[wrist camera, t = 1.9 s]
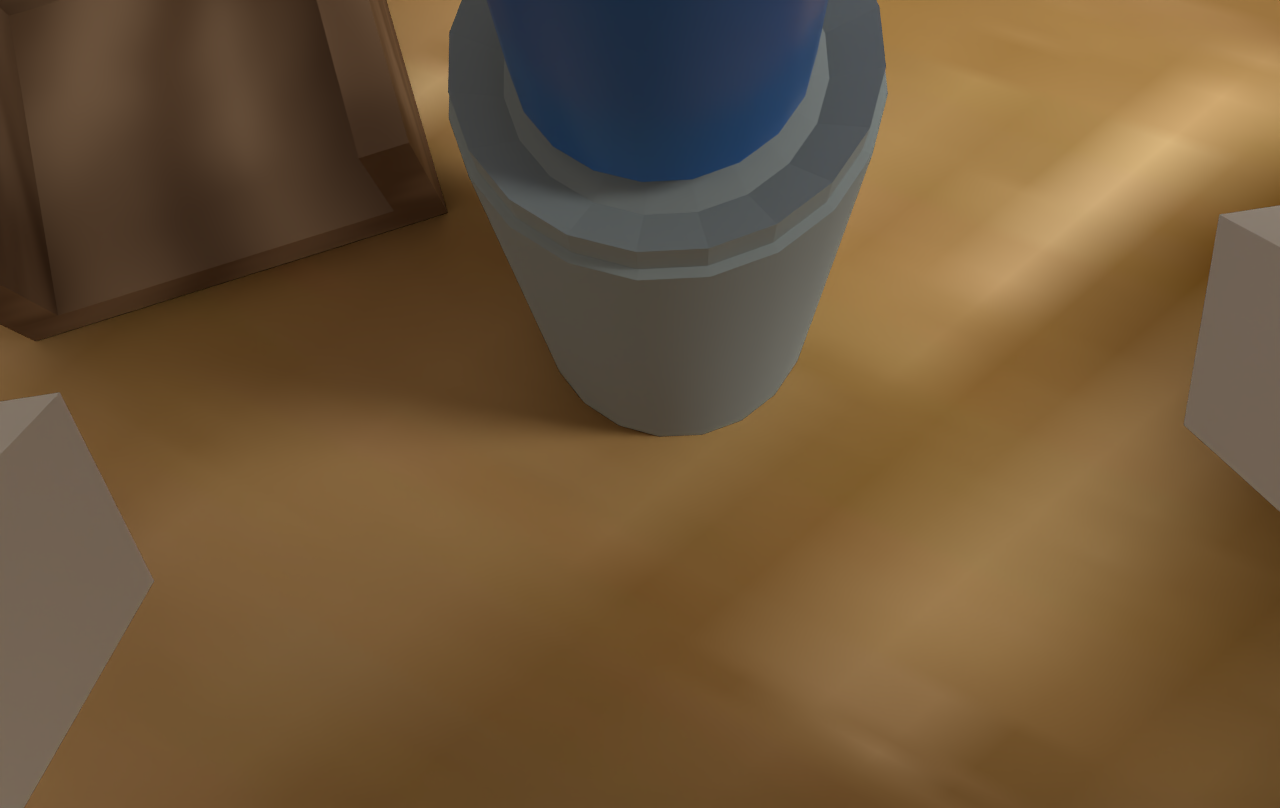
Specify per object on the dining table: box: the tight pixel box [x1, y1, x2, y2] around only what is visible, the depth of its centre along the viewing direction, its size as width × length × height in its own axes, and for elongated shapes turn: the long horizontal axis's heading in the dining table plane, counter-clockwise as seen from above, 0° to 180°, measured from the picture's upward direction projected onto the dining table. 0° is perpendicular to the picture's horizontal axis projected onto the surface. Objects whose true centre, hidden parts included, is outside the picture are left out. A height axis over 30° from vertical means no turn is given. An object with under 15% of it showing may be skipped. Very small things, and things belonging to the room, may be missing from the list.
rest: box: [0, 0, 447, 341], centre depth 33 cm, size 15×14×5 cm
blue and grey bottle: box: [448, 0, 888, 436], centre depth 21 cm, size 9×9×25 cm
